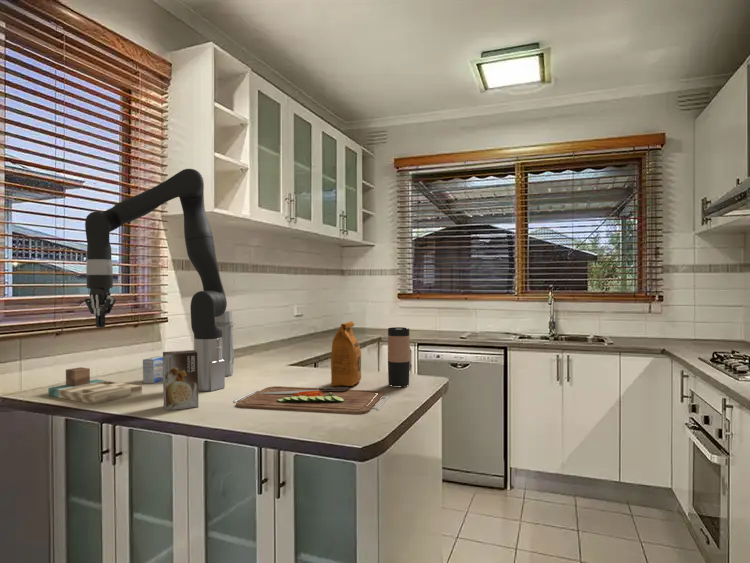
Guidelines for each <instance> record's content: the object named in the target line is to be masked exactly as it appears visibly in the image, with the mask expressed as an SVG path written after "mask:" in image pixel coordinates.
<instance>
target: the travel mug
mask: <svg viewBox="0 0 750 563" xmlns="http://www.w3.org/2000/svg"><path fill="white" fill-rule="evenodd" d="M410 349H411V348H410V328H407V327H401V326H399V327H397V326H396V327H388V329H387V376H388V377H387V378H388V386H389V385H392V386H407V385H409V386H410V360H411V356H410V355H411V353H410V352H411V350H410Z"/></svg>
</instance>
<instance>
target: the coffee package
mask: <svg viewBox="0 0 750 563" xmlns="http://www.w3.org/2000/svg"><path fill="white" fill-rule="evenodd" d="M354 326H355V323H354V321H351V320H350V321H348V322H344V323H341V324H340V327H339V329H338V330H337V332H336V334H334V338H333V340H332V344H331V350H330V351H331V352H330V354H331V355H330V371H331V372H330V374H331V379H330V380H331V382H330V386H331V387H353V386H355V385H356V384H358V383H360V381H361V380H362V349H361V346H360V343H359V341H358V340H357V338H356V337H355V334H354V332H353V329H352V327H354Z"/></svg>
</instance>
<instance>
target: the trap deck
mask: <svg viewBox="0 0 750 563" xmlns="http://www.w3.org/2000/svg"><path fill="white" fill-rule="evenodd" d="M47 391H48V392H47V393H48V396H49V397H52V398H53V397H54V398H58V399H65V400H70V401H75V402H81V403H87V404H91V405H97V404H103V403H107V402H111V401H116V400H120V399H124V398H125V399H126V398H129V397H133V396H137V395H142V393H143V386H142V385H138V384H130V383H123V382H117V381H110V380H103V379H98V378H97V379H90V384H85V385H79V386H70V385H66V384H63V385H62V384H61V385H56V386H52V387H48V390H47Z"/></svg>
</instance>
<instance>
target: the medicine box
mask: <svg viewBox="0 0 750 563" xmlns="http://www.w3.org/2000/svg"><path fill="white" fill-rule="evenodd" d="M142 382H143V383H144V384H157V383H159V382H163V355H161V356H160V355H157V356H153V357H148V358H145V359H142Z"/></svg>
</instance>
